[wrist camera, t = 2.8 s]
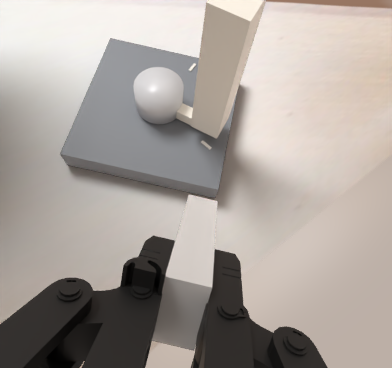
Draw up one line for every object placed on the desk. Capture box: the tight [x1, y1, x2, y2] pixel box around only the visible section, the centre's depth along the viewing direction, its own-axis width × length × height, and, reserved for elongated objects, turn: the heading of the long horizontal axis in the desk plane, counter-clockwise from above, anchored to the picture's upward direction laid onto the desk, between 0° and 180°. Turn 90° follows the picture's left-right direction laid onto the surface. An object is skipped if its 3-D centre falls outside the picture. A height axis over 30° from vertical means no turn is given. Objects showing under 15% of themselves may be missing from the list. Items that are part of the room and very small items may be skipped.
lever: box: [133, 0, 266, 139], centre depth 21 cm, size 8×4×12 cm, turn 63°
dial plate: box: [60, 38, 238, 198], centre depth 28 cm, size 13×13×2 cm
